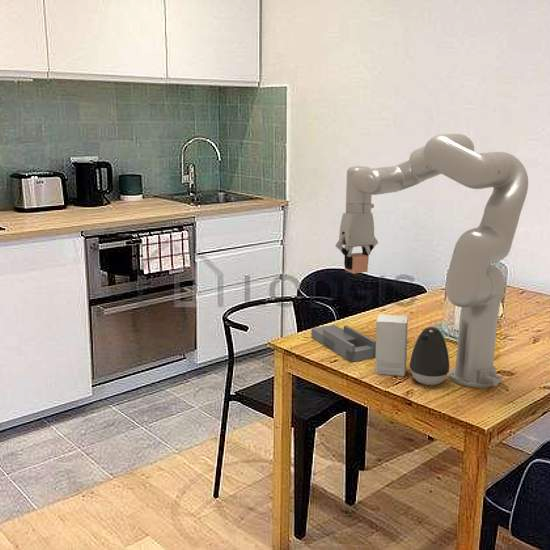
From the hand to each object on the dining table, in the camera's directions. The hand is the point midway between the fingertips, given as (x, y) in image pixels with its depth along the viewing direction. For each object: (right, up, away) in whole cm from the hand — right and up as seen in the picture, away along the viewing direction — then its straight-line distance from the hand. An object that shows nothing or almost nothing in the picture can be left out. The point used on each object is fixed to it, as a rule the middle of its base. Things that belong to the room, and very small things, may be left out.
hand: (356, 267), depth 197 cm
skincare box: (+7, -29, -19) cm, 35 cm away
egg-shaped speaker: (+16, -31, -25) cm, 43 cm away
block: (0, -1, 0) cm, 1 cm away
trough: (-4, -24, -1) cm, 25 cm away
